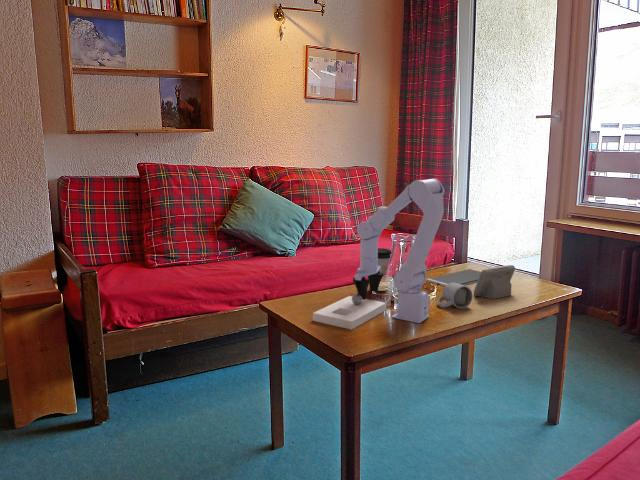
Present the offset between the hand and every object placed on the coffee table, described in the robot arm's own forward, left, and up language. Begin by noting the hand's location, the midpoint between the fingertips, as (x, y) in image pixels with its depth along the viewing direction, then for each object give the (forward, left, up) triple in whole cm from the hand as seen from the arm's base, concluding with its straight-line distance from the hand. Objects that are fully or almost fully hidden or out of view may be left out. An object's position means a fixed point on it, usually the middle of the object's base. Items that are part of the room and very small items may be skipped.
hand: (368, 296), depth 181 cm
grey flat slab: (-14, -52, -4) cm, 54 cm away
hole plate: (0, +11, -3) cm, 12 cm away
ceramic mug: (-23, -17, -4) cm, 29 cm away
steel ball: (0, +7, +1) cm, 7 cm away
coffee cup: (+6, -20, -4) cm, 21 cm away
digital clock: (-31, -38, -4) cm, 49 cm away
